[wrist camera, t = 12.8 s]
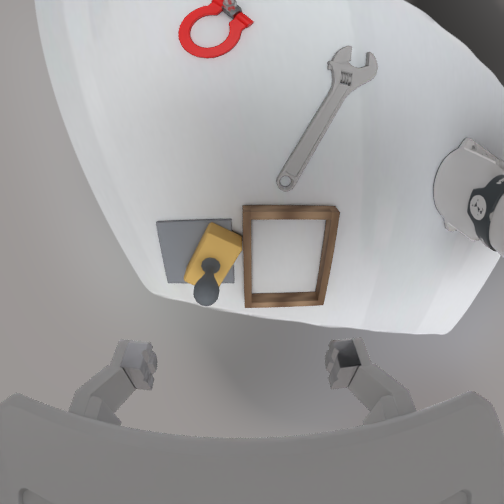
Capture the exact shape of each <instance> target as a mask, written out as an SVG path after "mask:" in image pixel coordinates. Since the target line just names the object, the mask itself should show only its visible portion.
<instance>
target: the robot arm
mask: <svg viewBox="0 0 504 504" xmlns="http://www.w3.org/2000/svg"><path fill="white" fill-rule="evenodd" d="M472 146H473V147H472ZM434 201H435V205H436V208H437V210H438V211H439V213H440V214H441V215H442V217H443V218H444V223H445V227H446V229H447V230H449V231H450V232H452V231H457V230H458V231H459V232H461V233H462V234H463V235H465V236H466V237H467V238H469V239H470V240H472V241H475V240H481V241H482V242H483V243H484V244H485V245H486V246H487V247H489V248H490V249H492V250H493V251H497V252H498V253H499V254H500V255H501V256H502V257H503V258H504V161H502V160H500V159H498V158H496V157H495V156H494V155H492V154H491V153H490V152H489V151H487V150H486V149H484V148H483V147H482V146H480V145H479V144H478V143H476V142H475V141H473V140H472V139H470V138H465V139H464V141H463V142H462V144H461V145H460V147H459V148H458V149H456V150H455V151H453V152H451V153H450V154H449V155H448V156H447V157H446V158H445V159H444V161H443V162H442V164H441V165H440V167H439V170H438V172H437V175H436V178H435V183H434ZM328 346H329V350H328V351H327V352H326V355H325V366H326V370H327V371H328V372H329V373H330V375H329V377H328V379H329V383H330V387H331V389H339V388H347V387H348V389H349V390H350V391H351V392H352V393H353V394H354V395H355V396H356V397H357V398H358V400H359V401H360V402H361V403H362V404H363V405H364V406H365V407H366V408H367V409H368V410H369V411H370V413H369V414H368V416H367V417H366V418H365V419H364V421H363V424H364V425H362V426H357V427H352V428H347V429H341V430H335V431H329V432H322V433H315V434H306V435H296V436H284V437H269V438H268V437H267V438H213V437H197V436H185V435H175V434H167V433H159V432H152V431H146V430H140V429H134V428H129V427H124V426H121V421H120V419H119V418H118V417H117V416H116V415H115V414H114V413H115V412H116V411H117V410H118V408H119V407H120V406H121V405H122V404H123V403H124V402H125V401H126V400H127V398H128V397H129V396H130V395H131V394H132V393H133V392H134V391H135V389H143V390H152V386H153V382H154V378H153V375H152V374H154V373H155V372H156V369H157V356H156V354H155V352H153V351H152V348H153V346H152V344H151V342H141V341H133V340H124V339H121V340H120V341H119V342H118V345H117V347H116V350H115V353H114V356H113V358H112V361H111V364H110V366H108V365H107V366H106V367H104V368H103V369H102V370H101V371H100V372H98V373H97V374H96V375H95V376H93V377H92V378H91V379H90V380H89V381H87V382H86V383H85V384H84V385H82V386H81V387H80V388H79V389H78V390H76V391H75V394H74V397H73V400H72V402H71V405H70V408H69V411H68V412H67V411H64V410H61V409H58V408H55V407H53V406H50V405H47V404H44V403H42V402H39V401H37V400H34V399H32V398H29V397H27V396H25V395H23V394H20V393H16V394H13V395H11V396H10V397H8V398H7V399H5V400H4V401H2V402H1V403H0V504H504V435H503V431H502V428H501V425H500V422H499V419H498V416H497V414H496V411H495V409H494V407H493V405H492V404H491V402H489V401H488V400H487V399H485V398H484V397H482V396H481V395H479V394H477V393H476V392H474V391H468V392H465V393H463V394H460V395H458V396H456V397H454V398H451V399H448V400H446V401H443V402H441V403H438V404H435V405H433V406H430V407H427V408H424V409H421V410H418V411H416V408H415V405H414V403H413V400H412V397H411V395H410V392H409V390H408V389H407V388H406V387H404V386H403V385H402V384H401V383H399V382H398V381H397V380H395V379H394V378H393V377H392V376H390V375H389V374H388V373H386V372H385V371H384V370H383V369H381V368H380V367H378V366H377V365H376V364H372V362H371V359H370V356H369V354H368V351H367V349H366V346H365V343H364V341H363V339H362V338H361V337H359V338H349V339H340V340H331V341H330V342H329V345H328Z"/></svg>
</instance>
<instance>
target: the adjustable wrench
mask: <svg viewBox="0 0 504 504" xmlns="http://www.w3.org/2000/svg"><path fill="white" fill-rule="evenodd" d="M351 51H352V47H351V46H347V47H344V48H342V49H340V50H339V51H338V52H337V53H336V54H335V55H334V56H333V58H332V60H331V61H328V70H330V69H331V72H332V79H333V80H332V86H331V89H330V91H329V93H328V94H327V96H326V98H325V99H324V101H323V103H322V104H321V106H320V107H319V109H318V111H317V112H316V114H315V116H314V117H313V119H312V121H311V122H310V124H309V125H308V127H307V129H306V130H305V132H304V134H303V135H302V137H301V139H300V140H299V142H298V144H297V145H296V147H295V149H294V150H293V152H292V154H291V155H290V157H289V159H288V160H287V162H286V164H285V165H284V167H283V169H282V170H281V172H280V174H279V175H278V177H277V185H278V187H279V189H280V190H282V191H290V190H291V189H293V187H294V186H295V184H296V182H297V181H298V179H299V177H300V176H301V174H302V172H303V170H304V169H305V167H306V165H307V163H308V162H309V160H310V158H311V157H312V155H313V153H314V151H315V150H316V148H317V146H318V144H319V143H320V141H321V139H322V138H323V136H324V134H325V132H326V131H327V129H328V127H329V125H330V124H331V122H332V120H333V118H334V117H335V115H336V113H337V112H338V110H339V108H340V106H341V105H342V103H343V101H344V99H345V98H346V97H347V95H349V94H350V93H351V92H352V91H353V90H355V89H356V88H358V87H359V86H361V85H363V84H365V83H367V82H369V81H371V80H372V79H373V78H374V77H375V76H376V74H377V69H378V65H377V61H376V58H375V56H374V55H373V53H371V52H368V53H366V65H365V67H362V68H357V67H354V66H352V65H351V64H350V63H349V62H348V61H351ZM340 82H341V83H342V82H343V83H345V82H346V84H348V85H344V84H340ZM284 176H288V177H289V178H290V179H291V184H290V185H289V186H287V187H284V186H282V185H281V184H280V179H281V178H282V177H284Z"/></svg>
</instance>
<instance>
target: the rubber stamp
mask: <svg viewBox="0 0 504 504" xmlns="http://www.w3.org/2000/svg"><path fill="white" fill-rule="evenodd" d="M241 251H242V236H240V235H238V234H236V233H234V232H232V231H230V230H228V229H225V228H223V227H221V226H219V225H217V224H215V223H213V222H211V223H209V224H208V226H207V228H206V230H205V232H204V234H203V236H202V238H201V240H200V242H199V244H198V246H197V248H196V250H195V252H194V254H193V256H192V258H191V260H190V262H189V264H188V266H187V268H186V271H185V275H184V281H185V282H188V283H190V284H192V285H195V287H194V298H195V299H196V301H197V302H198V303H199V304H200V305H203V306H209V305H212V304H213V303H214V302H216V300H217V299H218V295H219V286H220V284H221V283H222V281H223V280H224V278H225V276H226V275H227V273H228V272H229V270H230V268H231V267H232V265H233V263H234V262H235V260H236V259H237V257H238V255H239V254H240V252H241Z"/></svg>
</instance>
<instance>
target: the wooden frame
mask: <svg viewBox="0 0 504 504" xmlns="http://www.w3.org/2000/svg"><path fill="white" fill-rule="evenodd" d="M339 215H340V212H339V211H338V209H337V208H336V207H335V206H309V205H245V206H243V253H244V294H245V308H262V307H294V306H316V305H323V304H324V299H325V295H326V290H327V285H328V280H329V275H330V269H331V264H332V258H333V253H334V247H335V241H336V235H337V228H338V222H339ZM261 219H320V220H326V225H325V233H324V240H323V247H322V254H321V260H320V267H319V273H318V279H317V285H316V291H315V292H297V293H260V294H252V293H251V220H261Z"/></svg>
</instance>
